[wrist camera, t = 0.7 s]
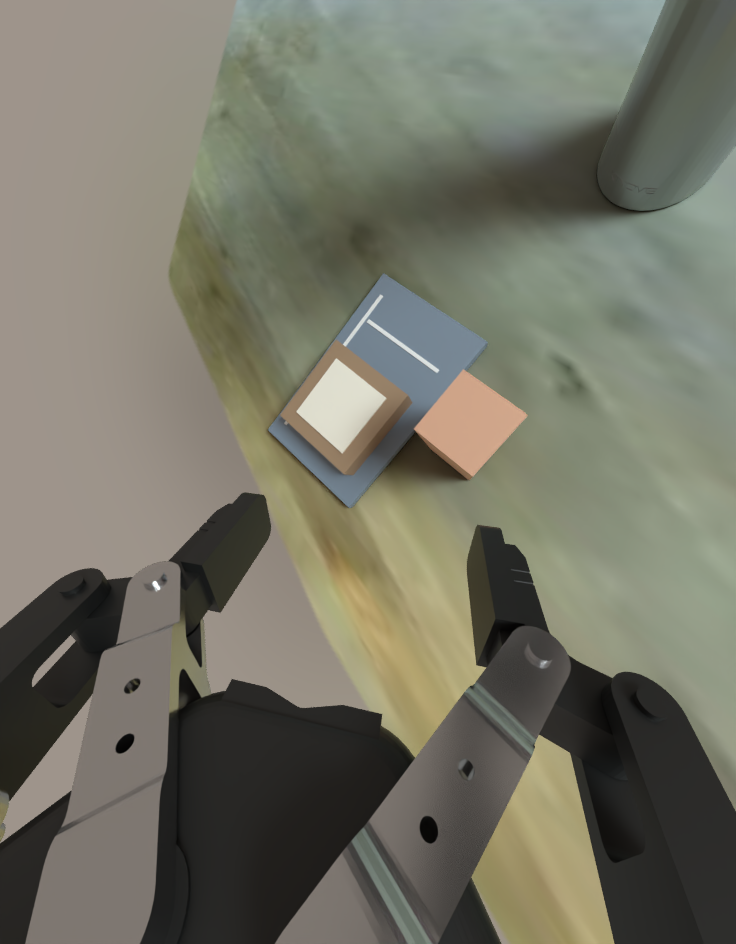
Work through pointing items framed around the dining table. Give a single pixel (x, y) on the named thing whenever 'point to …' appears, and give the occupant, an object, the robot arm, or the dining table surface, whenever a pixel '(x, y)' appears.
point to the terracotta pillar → (468, 424)
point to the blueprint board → (397, 371)
